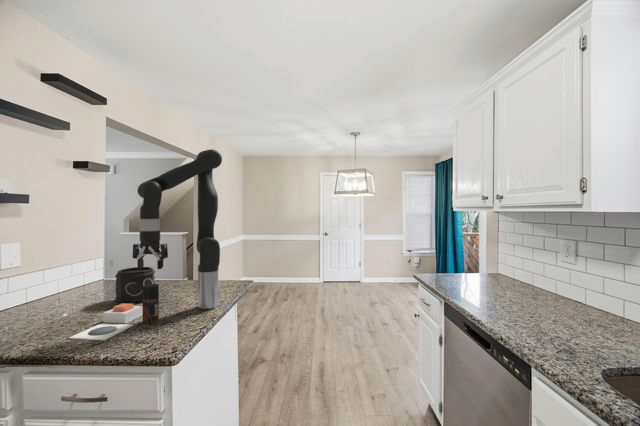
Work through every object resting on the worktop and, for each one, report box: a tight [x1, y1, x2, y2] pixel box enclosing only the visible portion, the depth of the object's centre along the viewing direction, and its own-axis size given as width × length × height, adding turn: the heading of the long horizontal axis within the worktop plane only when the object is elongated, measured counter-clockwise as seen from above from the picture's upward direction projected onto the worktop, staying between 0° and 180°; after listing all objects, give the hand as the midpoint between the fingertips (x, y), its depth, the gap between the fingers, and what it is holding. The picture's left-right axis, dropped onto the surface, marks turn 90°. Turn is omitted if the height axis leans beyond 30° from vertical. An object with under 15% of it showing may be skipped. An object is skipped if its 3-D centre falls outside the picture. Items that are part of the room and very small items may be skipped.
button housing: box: [102, 305, 143, 324], centre depth 130 cm, size 10×10×4 cm
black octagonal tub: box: [114, 266, 156, 305], centre depth 158 cm, size 18×18×16 cm
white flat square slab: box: [68, 322, 134, 341], centre depth 116 cm, size 14×14×1 cm
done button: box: [112, 303, 135, 312], centre depth 130 cm, size 5×5×3 cm
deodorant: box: [141, 283, 160, 325], centre depth 126 cm, size 6×6×15 cm
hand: (150, 268), depth 126 cm, fingers open, 8 cm apart
